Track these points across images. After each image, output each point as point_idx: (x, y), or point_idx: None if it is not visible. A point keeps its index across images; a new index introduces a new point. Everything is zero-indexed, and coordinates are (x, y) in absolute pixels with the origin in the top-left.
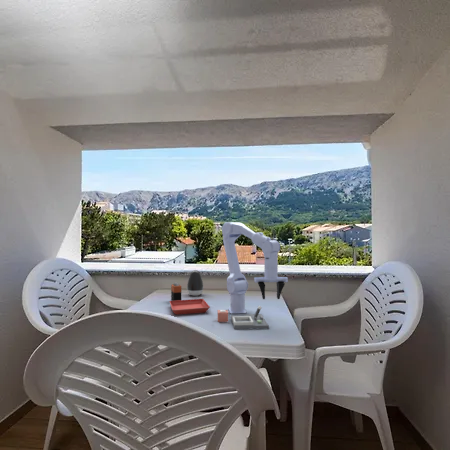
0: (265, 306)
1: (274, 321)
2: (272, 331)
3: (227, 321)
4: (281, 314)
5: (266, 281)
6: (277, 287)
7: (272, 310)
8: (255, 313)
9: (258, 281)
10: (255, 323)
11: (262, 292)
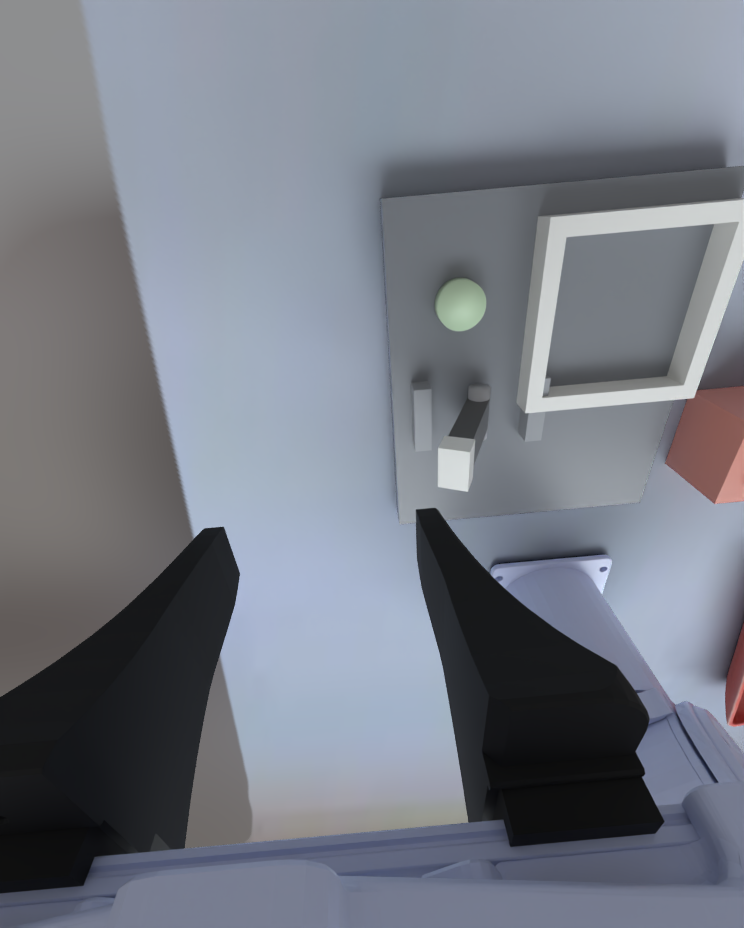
0: (338, 685)
1: (303, 411)
2: (351, 87)
3: (697, 391)
4: (239, 564)
5: (430, 850)
6: (183, 722)
7: (299, 629)
8: (482, 436)
9: (656, 832)
10: (505, 268)
11: (483, 569)
